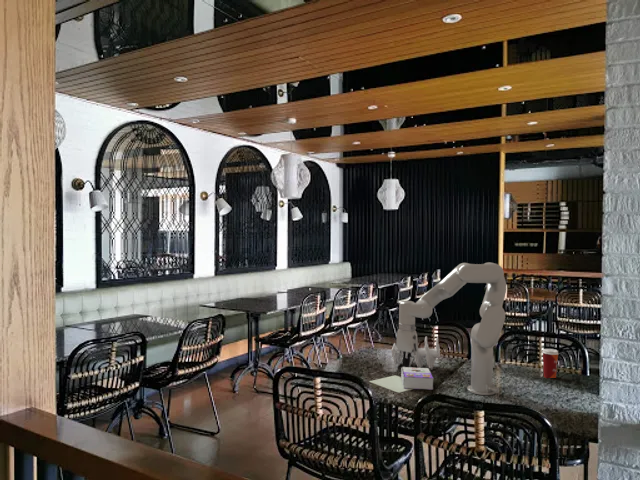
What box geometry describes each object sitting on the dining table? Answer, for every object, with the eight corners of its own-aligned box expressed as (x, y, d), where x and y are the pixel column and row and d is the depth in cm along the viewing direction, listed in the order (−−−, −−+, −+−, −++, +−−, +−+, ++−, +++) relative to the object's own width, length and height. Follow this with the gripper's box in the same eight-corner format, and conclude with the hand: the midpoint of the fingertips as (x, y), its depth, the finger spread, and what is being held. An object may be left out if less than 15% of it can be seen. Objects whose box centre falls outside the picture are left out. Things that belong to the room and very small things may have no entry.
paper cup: (559, 380, 246) (559, 352, 246) (542, 378, 248) (543, 351, 248) (557, 376, 253) (557, 349, 253) (540, 374, 256) (541, 347, 256)
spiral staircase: (395, 370, 275) (441, 372, 266) (388, 363, 260) (436, 366, 251) (397, 337, 282) (442, 339, 273) (391, 329, 268) (437, 331, 259)
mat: (425, 386, 234) (425, 385, 234) (398, 393, 223) (398, 392, 223) (395, 375, 250) (395, 375, 250) (369, 381, 239) (369, 381, 239)
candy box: (433, 390, 228) (428, 379, 244) (433, 377, 228) (429, 367, 244) (403, 388, 229) (400, 378, 246) (403, 376, 229) (401, 366, 245)
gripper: (424, 329, 228) (423, 368, 228) (400, 324, 240) (400, 361, 240) (413, 331, 223) (412, 371, 224) (389, 325, 235) (389, 363, 236)
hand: (406, 365), depth 232 cm, fingers closed
